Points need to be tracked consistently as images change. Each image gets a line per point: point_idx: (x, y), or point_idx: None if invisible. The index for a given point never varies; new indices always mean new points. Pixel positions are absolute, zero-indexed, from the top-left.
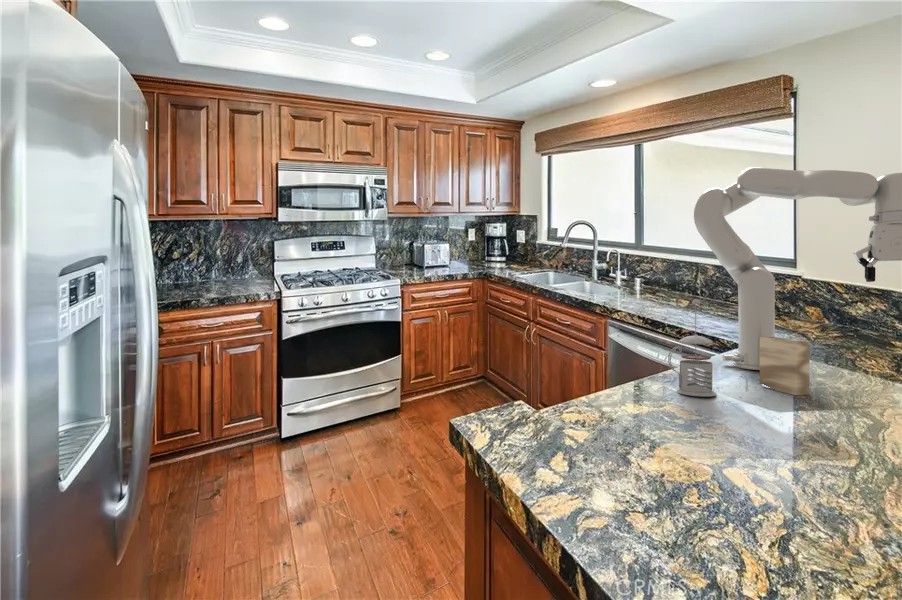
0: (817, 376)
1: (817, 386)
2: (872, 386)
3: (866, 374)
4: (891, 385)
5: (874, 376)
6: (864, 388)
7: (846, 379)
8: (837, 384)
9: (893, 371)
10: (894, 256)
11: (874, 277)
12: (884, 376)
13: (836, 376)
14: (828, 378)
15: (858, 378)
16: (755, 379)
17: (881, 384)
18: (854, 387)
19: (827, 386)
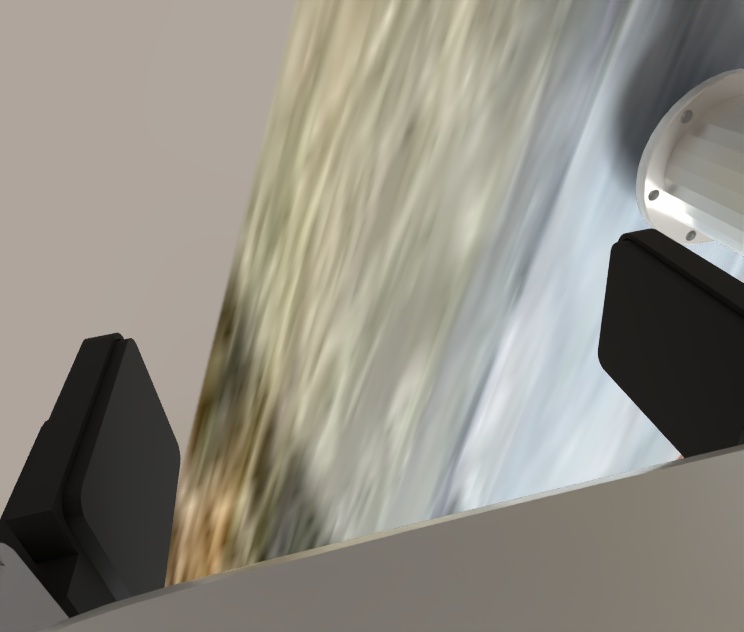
0: (455, 281)
1: (551, 6)
2: (340, 113)
3: (276, 407)
4: (262, 177)
5: (262, 374)
6: (387, 38)
7: (379, 256)
8: (454, 104)
9: (174, 511)
10: (689, 528)
11: (658, 252)
12: (229, 390)
13: (390, 313)
14: (434, 250)
15: (330, 301)
16: None
17: (292, 186)
18: (417, 48)
19: (512, 26)
